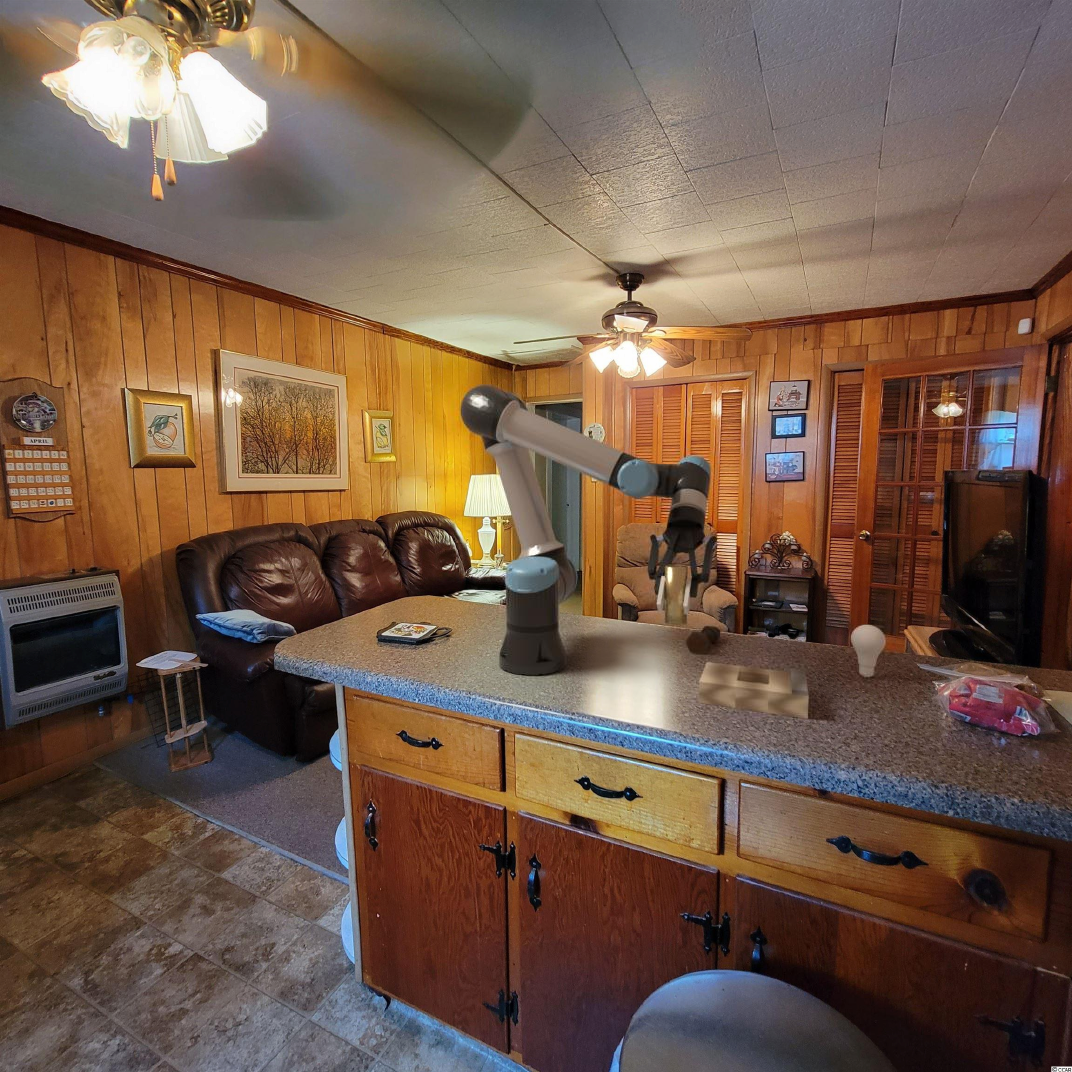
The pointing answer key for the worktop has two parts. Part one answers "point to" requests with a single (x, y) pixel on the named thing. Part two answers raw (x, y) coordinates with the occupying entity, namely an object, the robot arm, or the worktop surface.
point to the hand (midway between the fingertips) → (672, 609)
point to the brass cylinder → (675, 594)
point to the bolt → (702, 639)
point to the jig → (755, 689)
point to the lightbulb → (867, 647)
